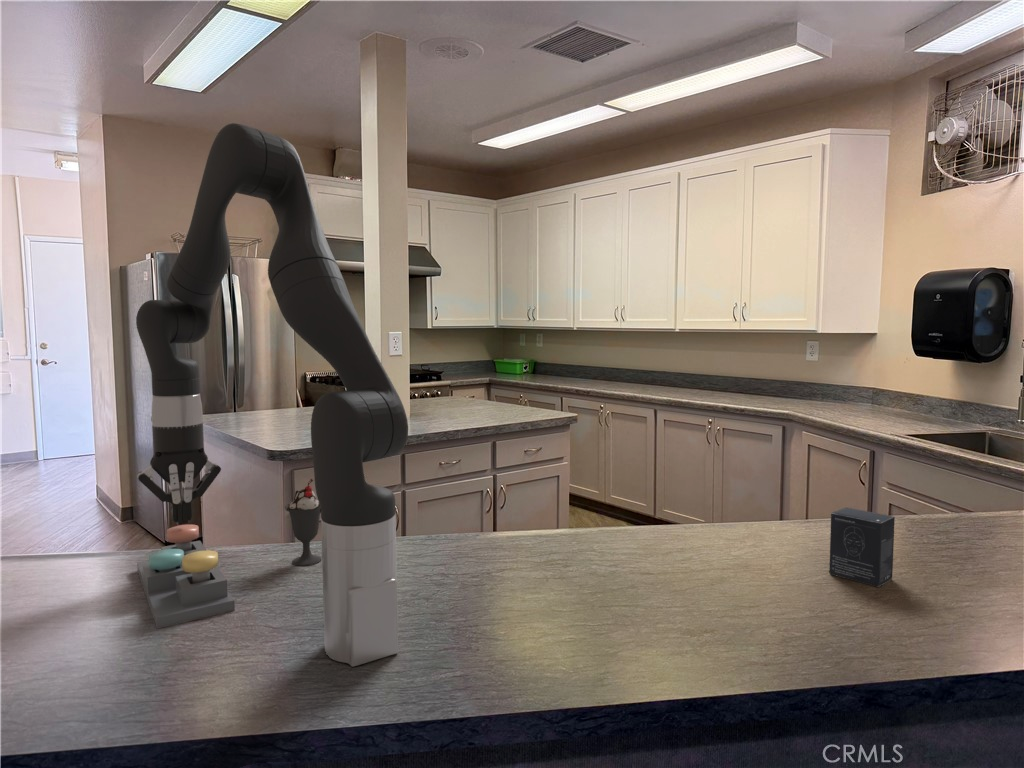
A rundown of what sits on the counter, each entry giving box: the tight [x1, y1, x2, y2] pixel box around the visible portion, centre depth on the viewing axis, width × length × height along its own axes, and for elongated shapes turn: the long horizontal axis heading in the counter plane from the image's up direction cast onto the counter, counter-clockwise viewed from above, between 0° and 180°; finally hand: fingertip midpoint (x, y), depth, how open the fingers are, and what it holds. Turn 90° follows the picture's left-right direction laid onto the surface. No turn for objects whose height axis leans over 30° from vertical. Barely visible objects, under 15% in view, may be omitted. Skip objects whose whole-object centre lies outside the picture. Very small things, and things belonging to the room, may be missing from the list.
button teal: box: [148, 549, 184, 572], centre depth 101 cm, size 5×5×4 cm
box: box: [828, 507, 896, 588], centre depth 107 cm, size 8×6×11 cm
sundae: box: [284, 478, 322, 567], centre depth 114 cm, size 7×7×15 cm
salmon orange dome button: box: [166, 524, 200, 552], centre depth 110 cm, size 5×5×4 cm
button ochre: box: [182, 549, 219, 584], centre depth 97 cm, size 5×5×4 cm
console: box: [136, 540, 236, 629], centre depth 103 cm, size 26×10×4 cm, turn 35°
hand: (182, 523), depth 110 cm, fingers closed
